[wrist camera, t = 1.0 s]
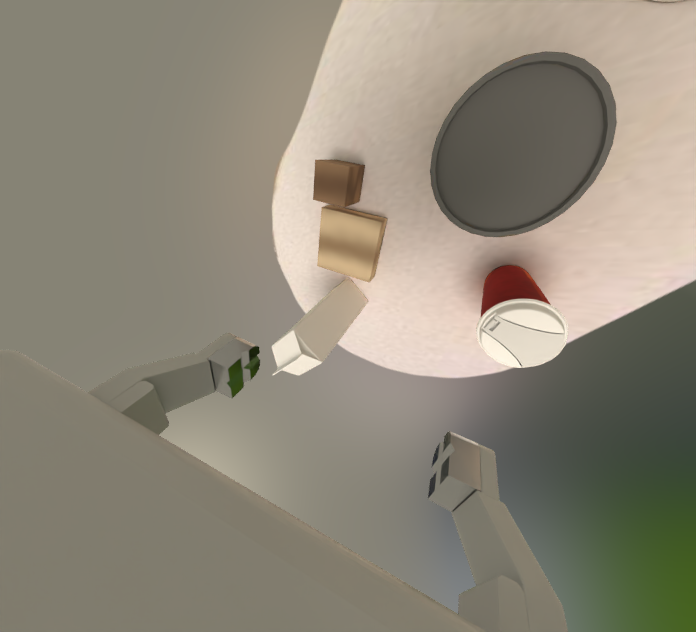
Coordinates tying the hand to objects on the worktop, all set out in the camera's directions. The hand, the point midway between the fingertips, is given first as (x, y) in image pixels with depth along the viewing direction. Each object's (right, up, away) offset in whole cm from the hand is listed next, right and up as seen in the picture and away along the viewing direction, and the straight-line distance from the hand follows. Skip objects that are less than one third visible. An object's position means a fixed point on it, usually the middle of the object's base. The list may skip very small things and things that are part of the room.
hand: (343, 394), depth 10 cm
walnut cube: (0, +24, +30) cm, 38 cm away
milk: (0, +7, +40) cm, 41 cm away
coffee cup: (+24, +8, +28) cm, 38 cm away
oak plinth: (+1, +16, +34) cm, 38 cm away
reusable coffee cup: (+19, +23, +22) cm, 37 cm away
